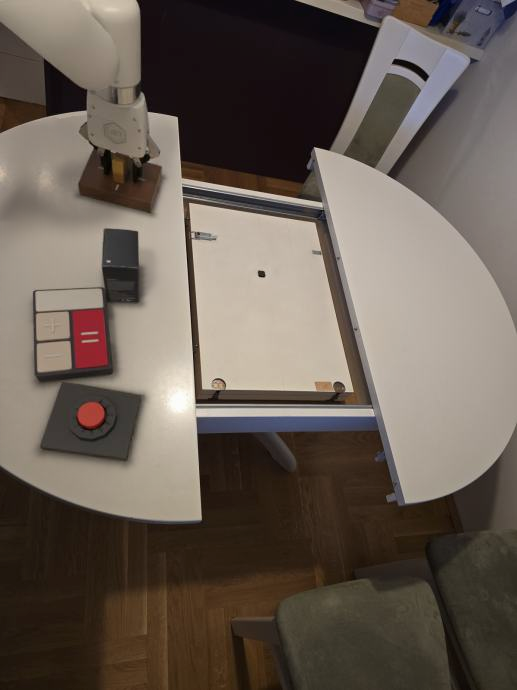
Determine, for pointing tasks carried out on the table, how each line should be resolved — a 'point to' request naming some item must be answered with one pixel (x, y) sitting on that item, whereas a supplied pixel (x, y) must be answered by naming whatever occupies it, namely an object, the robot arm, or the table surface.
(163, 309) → the table surface
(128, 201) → the plate
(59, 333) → the calculator
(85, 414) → the bell button
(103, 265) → the box
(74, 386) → the bell block
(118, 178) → the lock knob
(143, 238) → the table surface
